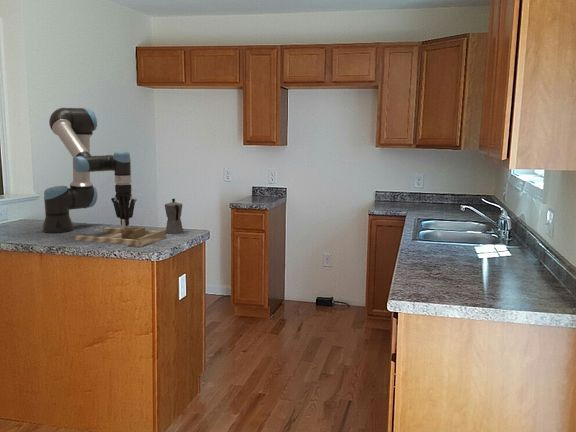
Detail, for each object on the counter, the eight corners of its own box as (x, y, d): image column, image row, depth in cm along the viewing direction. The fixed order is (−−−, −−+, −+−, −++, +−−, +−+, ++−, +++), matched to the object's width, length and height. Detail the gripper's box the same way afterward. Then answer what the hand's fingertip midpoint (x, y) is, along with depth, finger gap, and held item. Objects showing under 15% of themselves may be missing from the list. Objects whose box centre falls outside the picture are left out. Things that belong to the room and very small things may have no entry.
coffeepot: (162, 230, 285) (161, 197, 282) (180, 229, 289) (179, 196, 286) (169, 236, 271) (168, 201, 268) (187, 234, 275) (186, 200, 272)
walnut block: (121, 239, 257) (121, 229, 256) (131, 236, 265) (130, 226, 264) (136, 240, 255) (135, 230, 254) (145, 237, 262) (145, 227, 262)
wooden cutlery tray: (75, 242, 256) (74, 233, 256) (105, 233, 278) (104, 225, 278) (140, 247, 246) (140, 238, 245) (166, 237, 268) (166, 229, 267)
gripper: (106, 184, 255) (109, 232, 259) (130, 185, 252) (132, 234, 255) (116, 182, 262) (118, 229, 266) (139, 183, 259) (141, 231, 262)
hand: (125, 232), depth 261 cm, fingers closed
